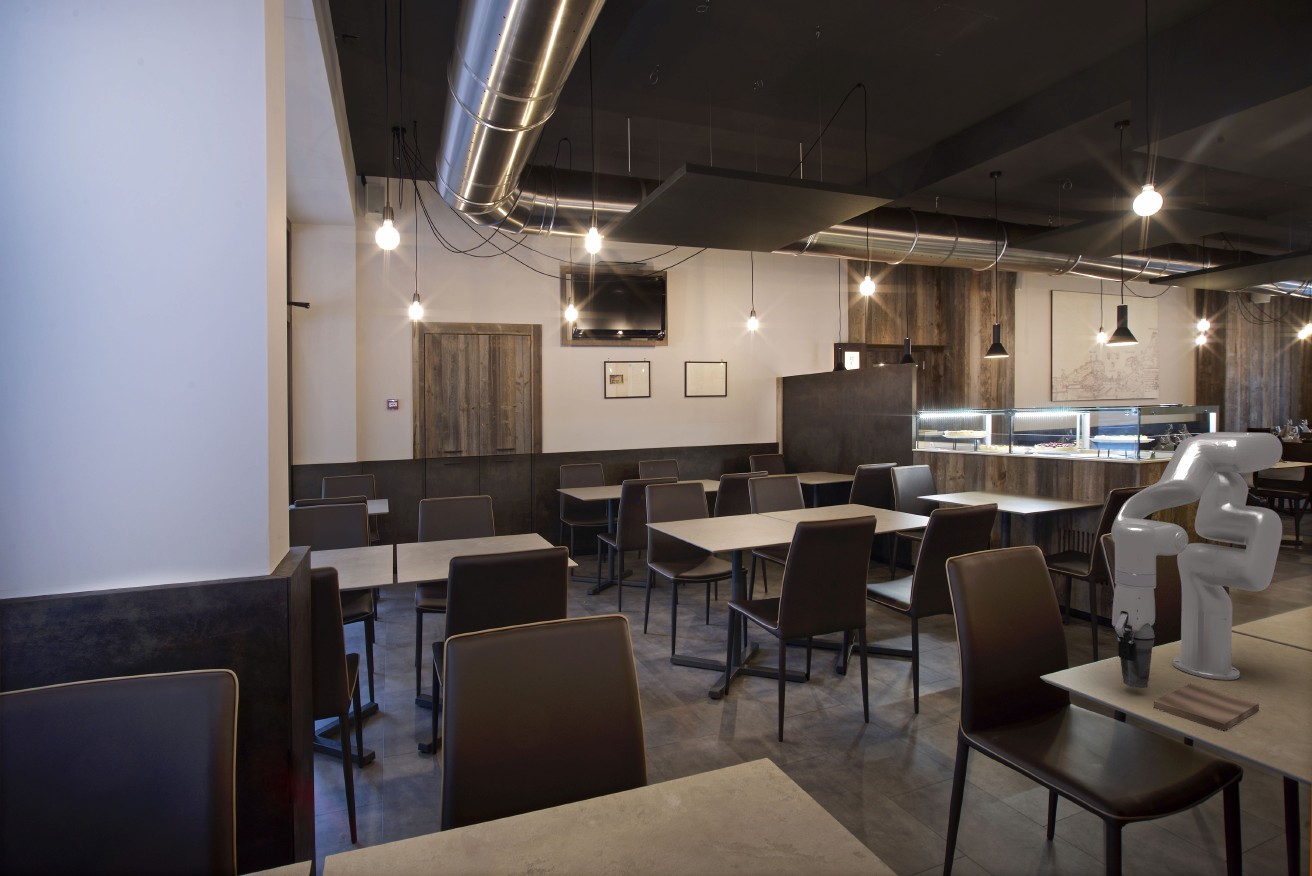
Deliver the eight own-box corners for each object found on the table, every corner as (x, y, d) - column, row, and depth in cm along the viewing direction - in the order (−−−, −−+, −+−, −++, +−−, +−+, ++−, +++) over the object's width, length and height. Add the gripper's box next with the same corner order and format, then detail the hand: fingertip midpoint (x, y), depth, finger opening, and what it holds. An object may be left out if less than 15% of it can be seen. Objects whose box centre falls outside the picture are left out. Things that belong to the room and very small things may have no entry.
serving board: (1190, 689, 147) (1190, 683, 147) (1258, 710, 136) (1258, 703, 136) (1153, 708, 138) (1153, 701, 137) (1224, 731, 127) (1224, 723, 127)
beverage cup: (1162, 692, 141) (1162, 603, 140) (1125, 690, 143) (1125, 602, 142) (1144, 678, 148) (1144, 594, 148) (1109, 676, 150) (1109, 593, 149)
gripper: (1134, 569, 152) (1134, 643, 153) (1097, 581, 143) (1097, 658, 144) (1172, 576, 146) (1172, 652, 146) (1135, 588, 137) (1135, 669, 138)
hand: (1135, 655), depth 145 cm, fingers closed on beverage cup, 6 cm apart
